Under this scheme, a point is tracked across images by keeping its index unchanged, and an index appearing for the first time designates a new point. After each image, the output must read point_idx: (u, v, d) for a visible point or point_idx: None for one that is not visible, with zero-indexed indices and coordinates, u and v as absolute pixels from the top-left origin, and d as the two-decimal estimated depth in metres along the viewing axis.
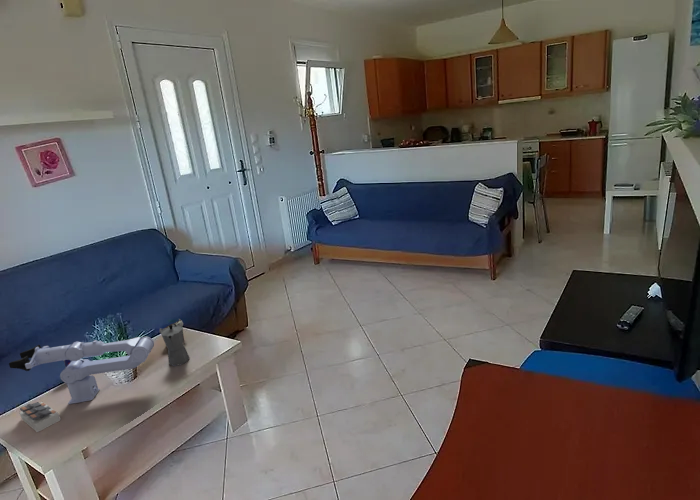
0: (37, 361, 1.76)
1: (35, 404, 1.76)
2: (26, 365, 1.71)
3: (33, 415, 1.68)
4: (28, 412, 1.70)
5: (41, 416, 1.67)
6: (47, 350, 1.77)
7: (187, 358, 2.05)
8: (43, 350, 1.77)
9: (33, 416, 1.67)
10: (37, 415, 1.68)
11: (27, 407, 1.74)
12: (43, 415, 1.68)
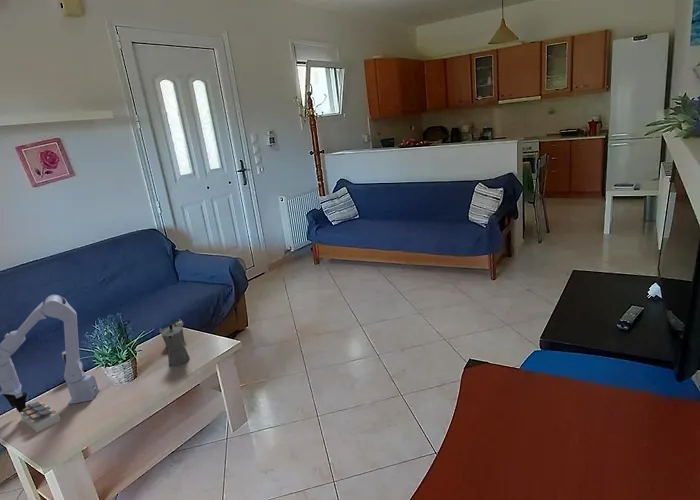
0: (15, 388, 1.72)
1: (35, 404, 1.76)
2: (17, 396, 1.68)
3: (33, 415, 1.68)
4: (28, 412, 1.70)
5: (41, 416, 1.67)
6: (1, 382, 1.69)
7: (187, 358, 2.05)
8: (2, 386, 1.70)
9: (33, 416, 1.67)
10: (37, 415, 1.68)
11: (27, 407, 1.74)
12: (43, 415, 1.68)
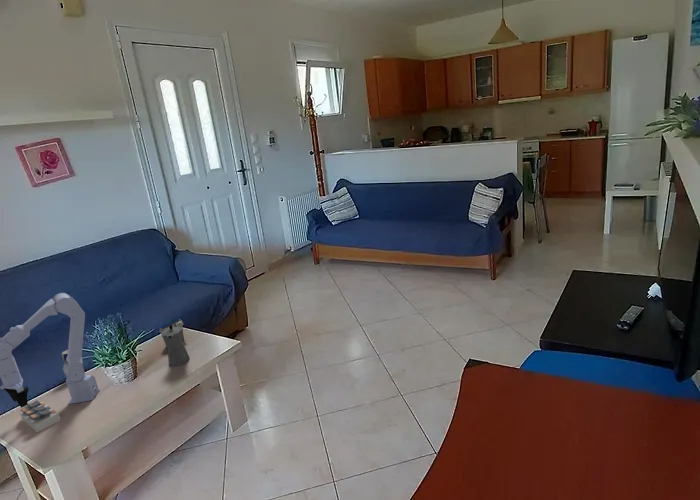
0: (17, 382, 1.68)
1: (34, 403, 1.76)
2: (19, 391, 1.65)
3: (33, 415, 1.68)
4: (28, 412, 1.70)
5: (41, 416, 1.67)
6: (2, 377, 1.66)
7: (187, 358, 2.05)
8: (3, 380, 1.66)
9: (33, 416, 1.67)
10: (37, 415, 1.68)
11: (27, 408, 1.74)
12: (43, 415, 1.68)
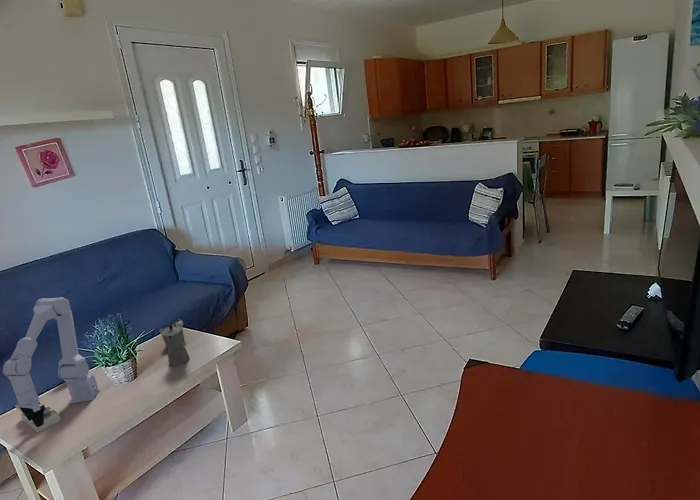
0: (33, 401, 1.61)
1: None
2: (35, 410, 1.57)
3: None
4: None
5: None
6: (17, 395, 1.58)
7: (187, 358, 2.05)
8: (18, 399, 1.59)
9: None
10: None
11: None
12: None
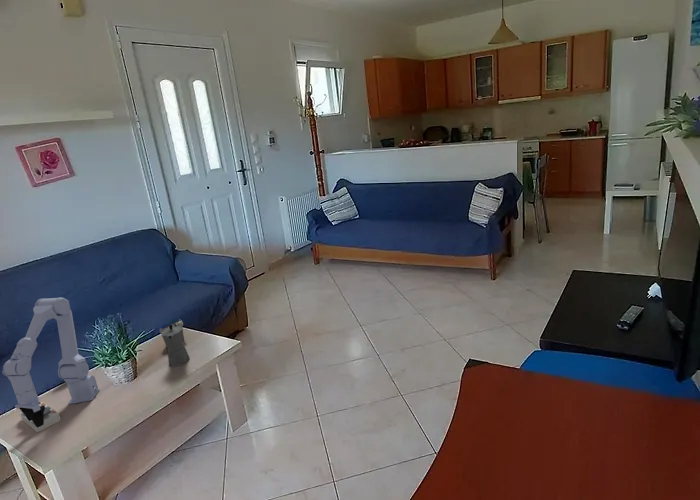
0: (33, 401, 1.61)
1: None
2: (35, 410, 1.57)
3: None
4: None
5: None
6: (17, 395, 1.58)
7: (187, 358, 2.05)
8: (18, 399, 1.59)
9: None
10: None
11: None
12: (43, 415, 1.68)
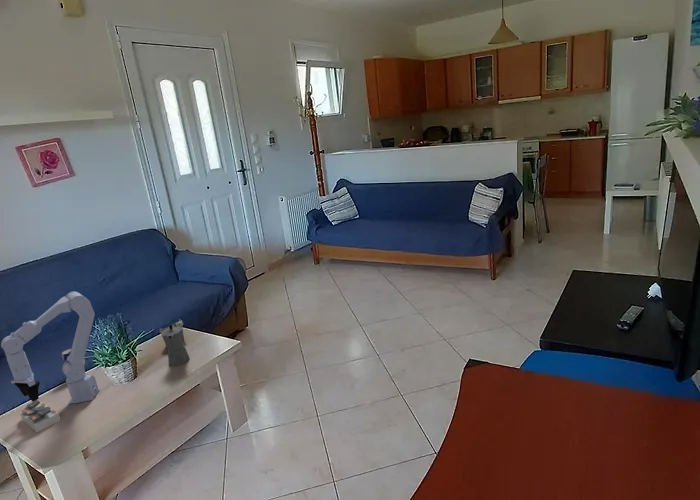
0: (28, 377, 1.69)
1: (34, 403, 1.76)
2: (30, 385, 1.66)
3: (33, 416, 1.68)
4: (28, 412, 1.70)
5: (41, 416, 1.67)
6: (13, 371, 1.67)
7: (187, 358, 2.05)
8: (14, 375, 1.67)
9: (33, 418, 1.67)
10: (37, 415, 1.68)
11: (27, 409, 1.74)
12: (43, 415, 1.68)
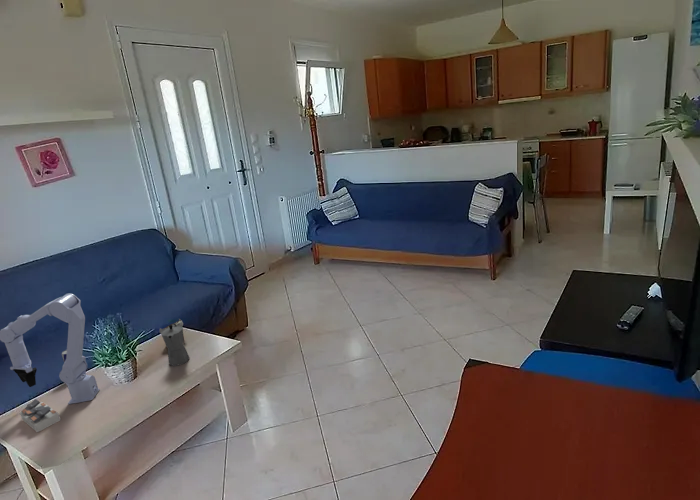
0: (26, 363, 1.79)
1: (33, 403, 1.76)
2: (28, 371, 1.76)
3: (33, 417, 1.68)
4: (28, 412, 1.70)
5: (41, 416, 1.67)
6: (12, 358, 1.77)
7: (187, 358, 2.05)
8: (12, 361, 1.77)
9: (33, 418, 1.67)
10: (37, 416, 1.68)
11: (27, 409, 1.74)
12: (43, 415, 1.68)
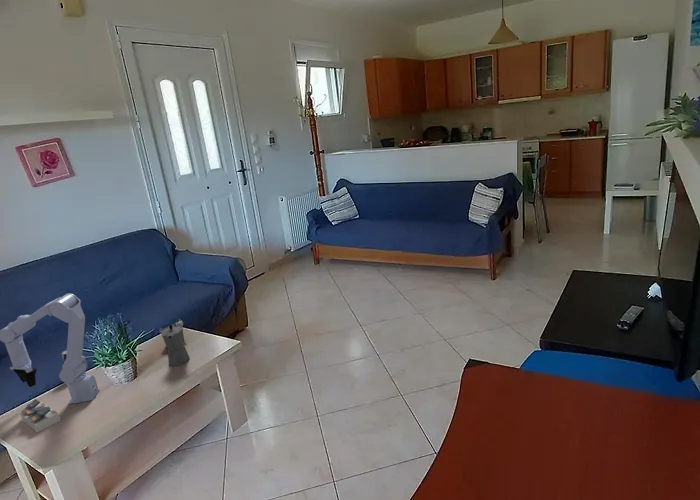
0: (26, 363, 1.79)
1: (33, 403, 1.76)
2: (28, 371, 1.76)
3: (33, 417, 1.68)
4: (28, 412, 1.70)
5: (41, 416, 1.68)
6: (12, 358, 1.77)
7: (187, 358, 2.05)
8: (12, 361, 1.77)
9: (33, 419, 1.67)
10: (37, 416, 1.68)
11: (27, 409, 1.74)
12: (43, 415, 1.68)
